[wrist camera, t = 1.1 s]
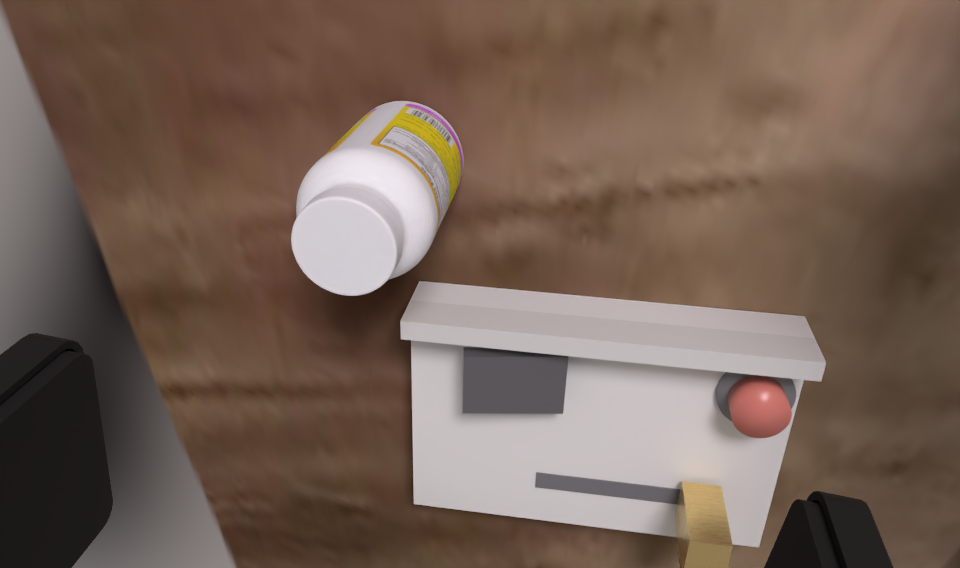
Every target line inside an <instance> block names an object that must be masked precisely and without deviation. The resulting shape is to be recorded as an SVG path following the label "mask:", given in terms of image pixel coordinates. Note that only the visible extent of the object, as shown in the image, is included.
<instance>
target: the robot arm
mask: <svg viewBox="0 0 960 568" xmlns="http://www.w3.org/2000/svg"><path fill="white" fill-rule="evenodd" d="M112 504H113V498H112V491H111V485H110V478H109V471H108V464H107V457H106V450H105V444H104V436H103V430H102V423H101V416H100V409H99V402H98V395H97V388H96V381H95V375H94V368H93V362H92V359H91V358H90V357H89V356H88V355H86V354H84V352H83V349H82V347H81V346H80V345H79V343H78V342H75V341H72V340H67V339H63V338H58V337H53V336H47V335H42V334H38V333H34V334H29V335H27V336H25V337H23V338H22V339H21V340H19V341H18V342H17V343H15V344H14V345H13V346H11V347H10V348H9V349H7V350H6V351H5V352H4V353H2V354H1V355H0V568H72V566H73V565H74V564H75V563H76V561H77V560H78V559H79V558H80V556H81V555H82V554H83V553H84V551H85V550H86V549H87V548H88V546H89V545H90V544H91V543H92V541H93V540H94V539H95V538H96V536H97V535H98V534H99V532H100V531H101V530H102V529H103V527H104V526H105V524H106V523H107V521H108V518H109V516H110V513H111V510H112ZM764 568H893V566H892V564H891V561H890V559H889V556H888V554H887V551H886V549H885V546H884V544H883V541H882V539H881V536H880V534H879V531H878V529H877V526H876V524H875V521H874V519H873V516H872V514H871V511H870V509H869V507H868V505H867V504H866V503H865V502H864V501H862V500H859V499H854V498H849V497H844V496H839V495H834V494H829V493H824V492H819V491H815V492H813V493H812V494H811V495H810V496H809V497H808V499H807V501H805V500H800V499H798V500H795V501H794V502H793V504H792V506H791V507H790V510H789V512H788V514H787V517H786V519H785V521H784V523H783V526H782V528H781V530H780V533H779V535H778V537H777V540H776V542H775V544H774V547H773V549H772V551H771V553H770V556H769V558H768V560H767V563H766V565H765V567H764Z"/></svg>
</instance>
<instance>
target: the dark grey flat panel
mask: <svg viewBox="0 0 960 568" xmlns="http://www.w3.org/2000/svg"><path fill="white" fill-rule="evenodd" d="M567 368H568V356H562V355H552V354H542V353H532V352H522V351H512V350H502V349H492V348H483V347H464V349H463V399H462V409H463V413H474V414H563V410H564V399H565V389H566V378H567Z"/></svg>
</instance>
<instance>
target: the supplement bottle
mask: <svg viewBox="0 0 960 568" xmlns="http://www.w3.org/2000/svg"><path fill="white" fill-rule="evenodd" d="M463 165H464V158H463V152H462V147H461V144H460V141H459V138H458V136H457V134H456V133H455V131H454V129H453V128H452V126H451V125H450V124H449V123H448V122H447V121H446V119H445V118H443V117H442V116H441V115H440V114H439V113H437V112H436V111H434V110H433V109H431V108H429V107H427V106H425V105H422V104H419V103H415V102H409V101H394V102H389V103H385V104H383V105H380V106H378V107H376V108H374V109H372V110H371V111H370V112H368V113H367V114H366V115H365V116H363V117H362V118H361V119H360V120H359V121H358V122H357V123H356V124H355V125H354V126H353V127H352V128H351V129H350V130H349V131H348V132H347V133H346V134H345V135H344V136H343V137H342V138H341V139H340V140H339V141H338V142H337V143H336V144H335V145H334V146H333V147H332V148H331V149H330V150H329V151H328V152H327V153H326V154H325V155H324V156H323V157H321V158H320V159H319V160H318V161H317V162H316V163H315V164H314V165H313V166H312V168H311V169H310V170H309V171H308V173H307V174H306V176H305V177H304V179H303V181H302V183H301V186H300V188H299V191H298V196H297V204H296V214H297V218H296V220H295V223H294V225H293V229H292V235H291V244H292V250H293V253H294V256H295V259H296V261H297V263H298V264H299V266H300V268H301V269H302V271H303V272H304V273H305V274H306V275H307V277H308V278H310V279H311V280H312V281H313V282H314V283H316V284H317V285H318V286H320V287H321V288H323V289H325V290H328V291H330V292H333V293H336V294H339V295H346V296H358V295H363V294H367V293H370V292H372V291H374V290H376V289H378V288H379V287H381V286H382V285H383V284H384V283H385V282H386V281H387V280H388V279H392V278H395V277H398V276H400V275H402V274H404V273H406V272H408V271H409V270H410V269H412V268H413V267H414V266H416V265H417V264H418V263H419V262H420V261H421V260H422V258H423V257H424V256H425V254H426V253H427V251H428V250H429V248H430V246H431V244H432V242H433V240H434V237H435V235H436V233H437V231H438V228H439V226H440V224H441V222H442V220H443V218H444V216H445V214H446V211H447V209H448V207H449V205H450V203H451V201H452V199H453V197H454V194H455V192H456V190H457V188H458V186H459V183H460V180H461V177H462V173H463Z"/></svg>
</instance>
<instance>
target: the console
mask: <svg viewBox="0 0 960 568" xmlns="http://www.w3.org/2000/svg"><path fill="white" fill-rule="evenodd" d="M400 328H401V339H403V340H411V370H412V429H413V487H414V504H417V505H425V506H433V507H441V508H449V509H457V510H465V511H473V512H481V513H489V514H497V515H505V516H512V517H520V518H528V519H536V520H544V521H552V522H560V523H568V524H576V525H584V526H592V527H600V528H608V529H616V530H624V531H631V532H639V533H647V534H655V535H663V536H671V537H676V528H675V515H676V509H677V504H678V499H679V494H680V489H681V484H682V481H684V482H692V483H701V484H709V485H718V486H721V487H722V492H723V497H724V503H725V508H726V513H727V518H728V523H729V528H730V534H731V539H732V544H735V545H743V546H750V547H758V548H759V545H760V541H761V538H762V534H763V530H764V526H765V523H766V519H767V515H768V512H769V508H770V504H771V500H772V497H773V493H774V489H775V485H776V482H777V478H778V474H779V471H780V467H781V463H782V459H783V456H784V452H785V448H786V444H787V441H788V437H789V433H790V430H791V426H792V422H793V418H794V415H795V411H796V407H797V403H798V400H799V396H800V392H801V389H802V385H803V381H804V380H810V381H820V382H821V380H822V377H823V373H824V369H825V366H826V361H825V359H824V357H823V355H822V352H821V350H820V348H819V346H818V344H817V342H816V339H815V337H814V335H813V333H812V331H811V329H810V327H809V324H808V322H807V320H806V318H805V316H796V315H785V314H774V313H764V312H753V311H742V310H731V309H720V308H709V307H698V306H687V305H676V304H665V303H654V302H644V301H633V300H622V299H611V298H600V297H589V296H578V295H567V294H556V293H545V292H534V291H524V290H513V289H502V288H491V287H480V286H469V285H458V284H447V283H436V282H425V281H419V283H418V285H417V287H416V289H415V291H414V293H413V295H412V297H411V300H410V302H409V304H408V306H407V308H406V310H405V312H404V314H403V316H402V319H401V321H400ZM464 347H483V348H492V349H502V350H512V351H522V352H532V353H542V354H552V355H562V356H568V368H567V378H566V389H565V399H564V410H563V414H474V413H463V409H462V399H463V349H464ZM756 375H760V376H767V377H770V378H773V379H775V380H776V381H778V382H779V383H780V384H781V385H782V387H783V388H784V390H785V393H786V396H787V399H788V401H789V404H790V407H791V411H792V417H791V421H790V423H789V425H788V426H787V427H786V428H785V429H784V430H783V431H782V432H780V433H779V434H777V435H775V436H772V437H768V438H752V437H749V436H746V435H744V434H742V433H741V432H739V431H738V430H737V429H736V427H735V426H734V424H733V421H732V417H731V413H730V409H729V405H728V394H729V392H730V390H731V388H732V387H733V386H734V385H735V384H736V383H737V382H738V381H740V380H742V379H744V378H746V377H750V376H756Z"/></svg>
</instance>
